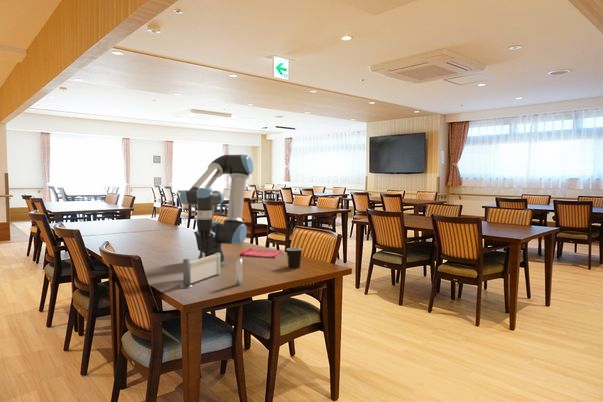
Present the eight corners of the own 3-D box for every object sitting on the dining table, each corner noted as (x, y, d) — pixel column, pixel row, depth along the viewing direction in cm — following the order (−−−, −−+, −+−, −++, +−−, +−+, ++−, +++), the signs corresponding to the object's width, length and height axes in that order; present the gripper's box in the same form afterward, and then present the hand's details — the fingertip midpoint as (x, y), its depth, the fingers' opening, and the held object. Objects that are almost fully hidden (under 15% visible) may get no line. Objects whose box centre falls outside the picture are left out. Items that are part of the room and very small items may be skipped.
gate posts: (179, 289, 177) (179, 263, 176) (180, 285, 184) (179, 259, 183) (242, 285, 184) (242, 259, 183) (241, 281, 191) (240, 256, 190)
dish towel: (250, 251, 265) (250, 247, 265) (283, 253, 258) (283, 249, 258) (239, 256, 249) (239, 252, 248) (274, 259, 242) (274, 255, 242)
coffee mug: (300, 269, 215) (300, 251, 214) (284, 268, 216) (284, 250, 216) (304, 264, 226) (304, 247, 225) (289, 263, 228) (289, 246, 227)
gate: (187, 286, 180) (186, 260, 179) (182, 285, 181) (181, 259, 180) (221, 273, 202) (221, 250, 202) (216, 272, 204) (216, 250, 203)
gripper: (189, 218, 198) (190, 265, 200) (209, 220, 192) (209, 268, 193) (200, 217, 205) (201, 262, 206) (219, 218, 198) (220, 265, 200)
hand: (205, 265), depth 200 cm, fingers closed
